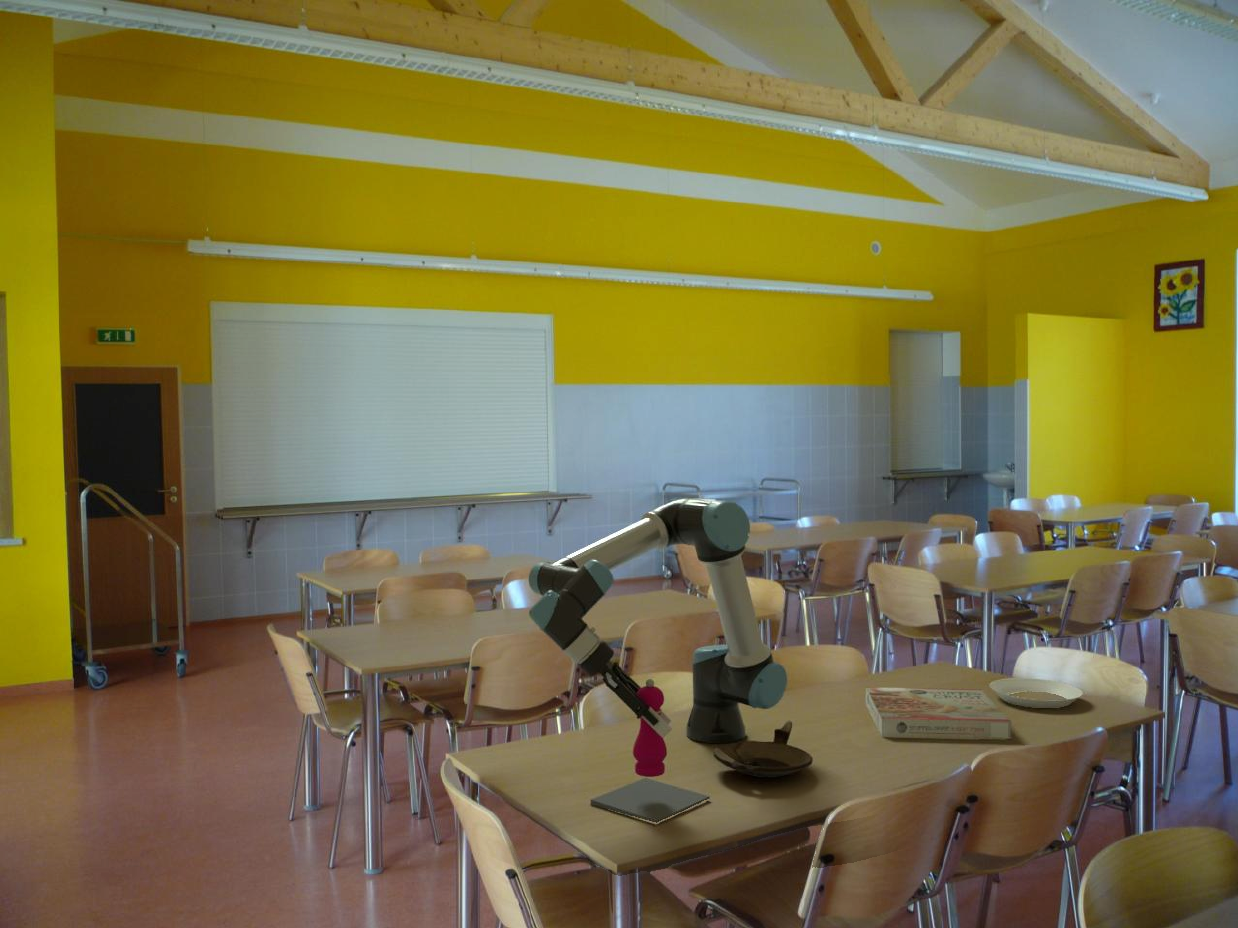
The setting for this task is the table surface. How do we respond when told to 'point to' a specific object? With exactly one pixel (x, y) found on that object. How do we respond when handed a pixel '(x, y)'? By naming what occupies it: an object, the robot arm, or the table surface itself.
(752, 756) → the ancient handled dish
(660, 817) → the charcoal notebook
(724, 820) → the table surface
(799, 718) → the table surface
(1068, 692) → the white plate
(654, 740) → the pepper mill
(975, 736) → the pizza box
